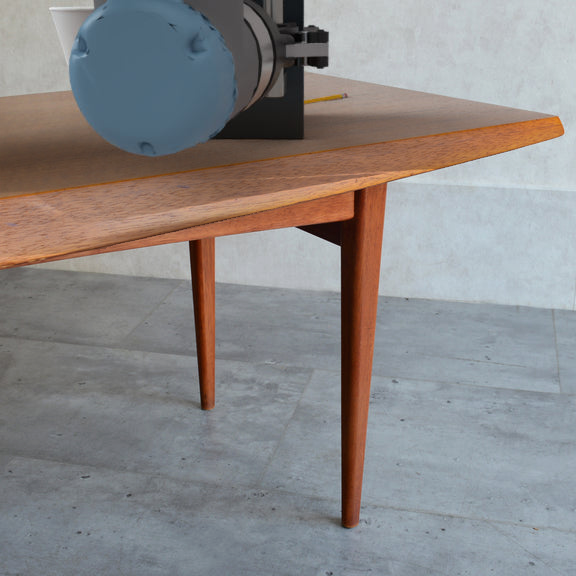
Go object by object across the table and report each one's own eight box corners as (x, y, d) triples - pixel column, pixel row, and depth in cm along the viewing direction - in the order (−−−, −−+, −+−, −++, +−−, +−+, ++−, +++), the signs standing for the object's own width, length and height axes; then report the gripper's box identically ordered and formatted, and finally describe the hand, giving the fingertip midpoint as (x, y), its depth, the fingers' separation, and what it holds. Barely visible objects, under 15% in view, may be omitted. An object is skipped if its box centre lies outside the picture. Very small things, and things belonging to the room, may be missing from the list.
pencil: (347, 98, 105) (347, 93, 105) (289, 109, 96) (289, 104, 95) (343, 98, 106) (343, 93, 106) (284, 109, 96) (284, 103, 96)
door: (300, 150, 69) (300, -86, 61) (90, 149, 70) (65, -82, 63) (304, 137, 75) (304, -78, 68) (111, 136, 76) (91, -75, 69)
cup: (68, 98, 106) (58, 6, 101) (152, 96, 107) (145, 5, 102) (52, 110, 95) (39, 7, 90) (145, 108, 96) (137, 6, 91)
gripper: (110, 114, 50) (200, 78, 72) (335, 117, 48) (357, 79, 69) (99, -5, 47) (196, -5, 69) (336, -7, 45) (359, -7, 67)
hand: (277, 37), depth 69 cm, fingers open, 2 cm apart
